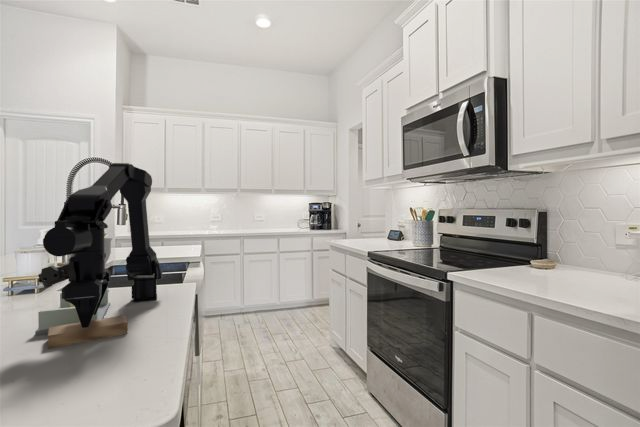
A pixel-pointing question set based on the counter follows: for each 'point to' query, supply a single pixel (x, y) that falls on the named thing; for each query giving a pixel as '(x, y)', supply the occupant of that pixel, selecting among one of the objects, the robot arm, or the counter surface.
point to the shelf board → (86, 331)
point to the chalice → (107, 249)
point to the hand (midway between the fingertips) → (89, 320)
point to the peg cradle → (66, 315)
